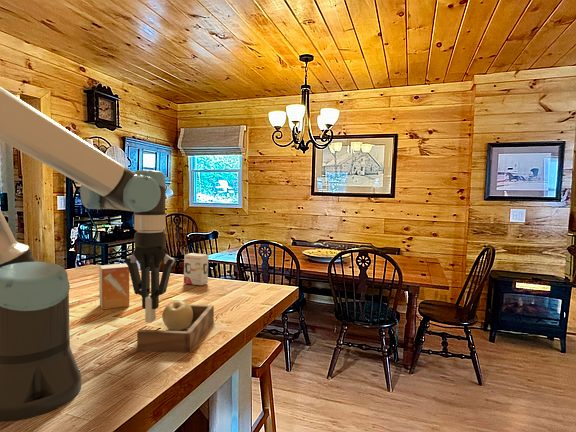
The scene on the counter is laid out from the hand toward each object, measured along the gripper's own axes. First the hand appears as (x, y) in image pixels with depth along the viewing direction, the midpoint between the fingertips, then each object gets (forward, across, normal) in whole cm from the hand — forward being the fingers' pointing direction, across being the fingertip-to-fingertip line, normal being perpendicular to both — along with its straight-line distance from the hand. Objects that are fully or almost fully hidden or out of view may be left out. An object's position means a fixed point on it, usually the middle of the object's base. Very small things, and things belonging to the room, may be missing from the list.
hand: (150, 320), depth 97 cm
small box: (+4, +22, -21) cm, 30 cm away
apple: (+4, -6, -3) cm, 8 cm away
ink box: (+3, +5, -52) cm, 52 cm away
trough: (+3, -8, 0) cm, 8 cm away
